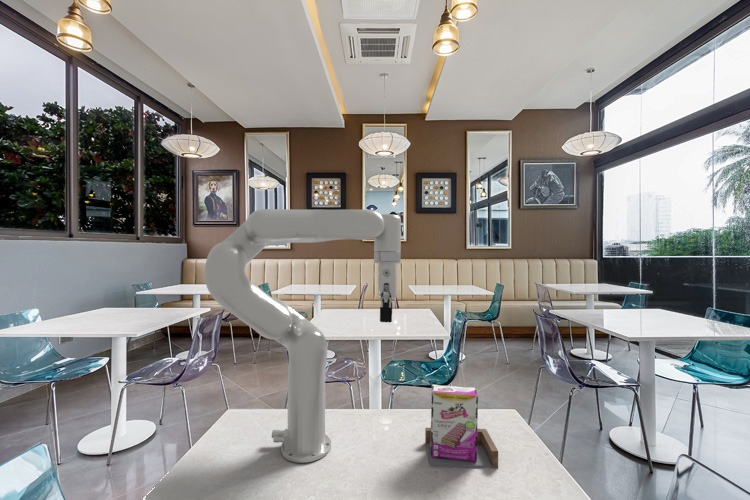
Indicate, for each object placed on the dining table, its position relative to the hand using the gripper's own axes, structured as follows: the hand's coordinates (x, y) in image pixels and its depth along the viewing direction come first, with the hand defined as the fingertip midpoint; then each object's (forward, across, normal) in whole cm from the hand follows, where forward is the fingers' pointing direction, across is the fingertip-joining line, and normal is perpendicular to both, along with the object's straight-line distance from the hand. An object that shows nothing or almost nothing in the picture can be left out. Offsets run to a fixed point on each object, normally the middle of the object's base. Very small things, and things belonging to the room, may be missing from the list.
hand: (386, 318), depth 97 cm
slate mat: (+32, -10, -19) cm, 38 cm away
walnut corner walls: (+32, -10, -19) cm, 38 cm away
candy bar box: (+32, -11, -18) cm, 38 cm away
